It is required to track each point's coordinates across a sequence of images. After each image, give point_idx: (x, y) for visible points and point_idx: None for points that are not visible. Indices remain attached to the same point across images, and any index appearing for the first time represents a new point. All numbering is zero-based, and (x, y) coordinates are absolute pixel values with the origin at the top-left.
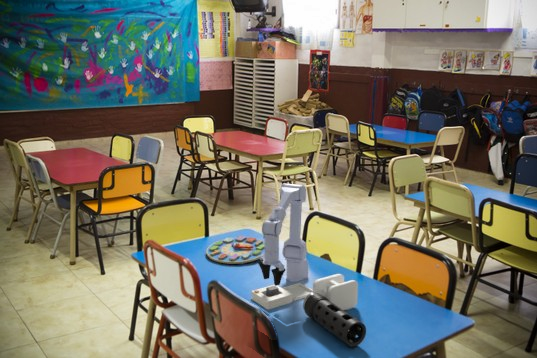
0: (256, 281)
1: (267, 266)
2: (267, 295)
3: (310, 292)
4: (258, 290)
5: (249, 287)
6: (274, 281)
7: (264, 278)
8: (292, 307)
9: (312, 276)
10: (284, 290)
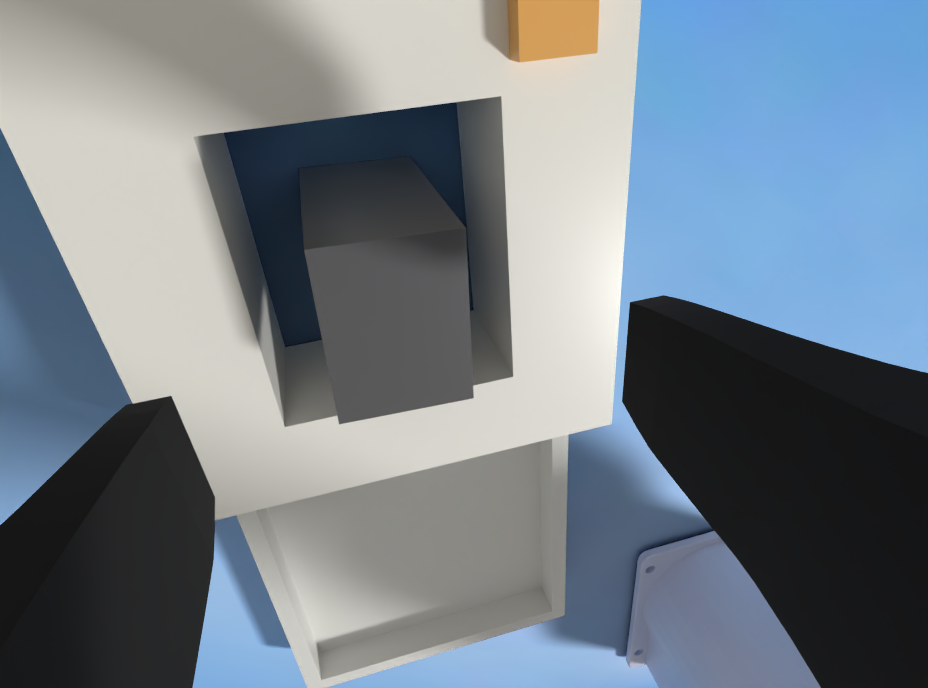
0: (903, 284)
1: (895, 654)
2: (393, 189)
3: (368, 634)
4: (583, 97)
5: (869, 144)
6: (85, 471)
7: (650, 305)
8: (84, 398)
9: (640, 677)
10: (367, 468)
